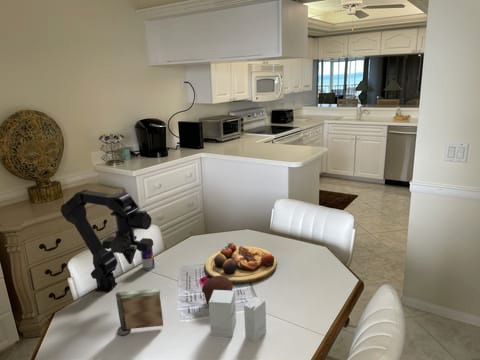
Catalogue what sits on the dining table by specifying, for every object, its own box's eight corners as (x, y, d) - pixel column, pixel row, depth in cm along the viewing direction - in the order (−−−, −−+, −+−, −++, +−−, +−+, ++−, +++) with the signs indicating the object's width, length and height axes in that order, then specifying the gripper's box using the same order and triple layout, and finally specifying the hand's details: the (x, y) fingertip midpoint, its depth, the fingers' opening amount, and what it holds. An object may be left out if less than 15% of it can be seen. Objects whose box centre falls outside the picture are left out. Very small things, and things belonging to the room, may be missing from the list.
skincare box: (256, 327, 120) (254, 295, 116) (267, 332, 117) (266, 300, 113) (244, 337, 115) (242, 304, 112) (255, 343, 112) (254, 309, 109)
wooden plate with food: (289, 258, 164) (288, 242, 162) (253, 293, 139) (252, 273, 137) (231, 245, 182) (230, 230, 180) (190, 274, 156) (188, 256, 154)
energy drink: (151, 270, 159) (148, 246, 156) (140, 270, 160) (137, 245, 157) (156, 264, 164) (153, 240, 161) (146, 264, 165) (142, 240, 162)
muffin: (220, 290, 142) (219, 267, 139) (240, 301, 134) (238, 277, 131) (196, 304, 134) (194, 280, 131) (216, 316, 126) (214, 291, 123)
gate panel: (120, 330, 119) (114, 295, 116) (121, 326, 121) (116, 292, 117) (163, 326, 120) (159, 291, 117) (164, 322, 122) (159, 288, 118)
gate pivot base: (120, 338, 118) (119, 335, 117) (115, 331, 121) (115, 328, 121) (133, 332, 120) (132, 329, 120) (128, 325, 123) (128, 323, 123)
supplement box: (232, 337, 115) (230, 303, 112) (210, 336, 116) (207, 302, 113) (237, 322, 122) (235, 290, 119) (215, 321, 123) (213, 289, 120)
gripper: (90, 234, 130) (97, 272, 134) (137, 236, 125) (142, 276, 130) (107, 222, 140) (113, 258, 144) (151, 224, 136) (156, 261, 140)
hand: (130, 263), depth 139 cm, fingers closed
